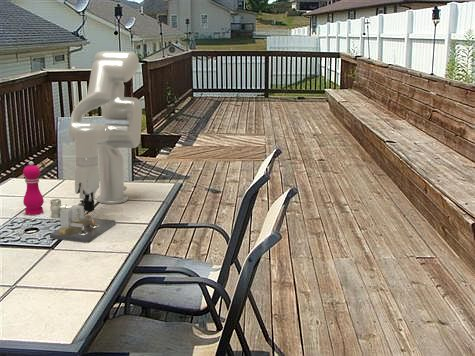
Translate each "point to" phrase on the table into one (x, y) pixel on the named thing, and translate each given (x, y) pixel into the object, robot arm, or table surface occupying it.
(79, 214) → the block
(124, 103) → the robot arm
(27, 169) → the magenta pepper mill
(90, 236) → the bolt plate
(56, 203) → the valve
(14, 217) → the table surface
